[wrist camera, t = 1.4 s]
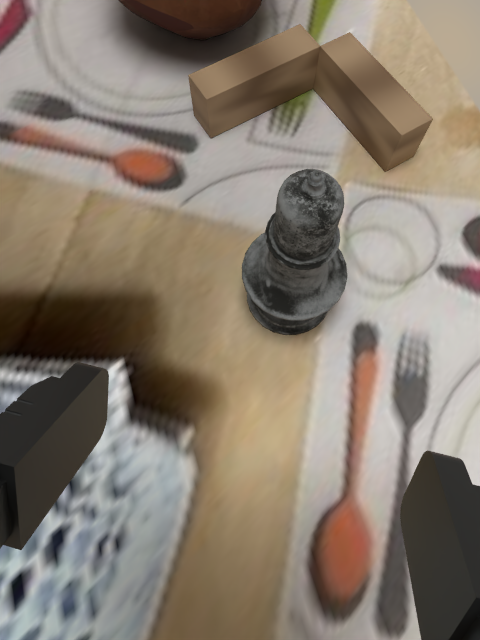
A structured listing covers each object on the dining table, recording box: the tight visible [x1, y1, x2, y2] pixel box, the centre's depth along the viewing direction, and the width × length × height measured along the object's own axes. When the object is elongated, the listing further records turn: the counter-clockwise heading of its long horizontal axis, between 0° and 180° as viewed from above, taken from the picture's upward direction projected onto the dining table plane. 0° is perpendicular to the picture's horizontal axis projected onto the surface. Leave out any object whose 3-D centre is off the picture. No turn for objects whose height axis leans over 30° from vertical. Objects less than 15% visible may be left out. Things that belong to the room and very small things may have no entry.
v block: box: [188, 24, 433, 172], centre depth 31 cm, size 8×16×4 cm, turn 76°
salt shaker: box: [242, 169, 347, 335], centre depth 22 cm, size 6×6×12 cm
